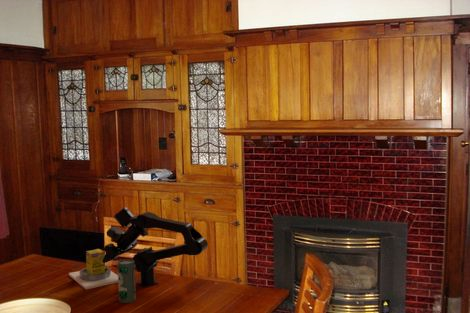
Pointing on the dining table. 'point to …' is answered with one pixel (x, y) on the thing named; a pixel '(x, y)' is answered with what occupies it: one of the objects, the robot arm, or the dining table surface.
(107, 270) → the metal duct collar
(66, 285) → the dining table surface
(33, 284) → the dining table surface
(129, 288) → the can
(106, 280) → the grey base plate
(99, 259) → the supplement box
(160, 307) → the dining table surface
